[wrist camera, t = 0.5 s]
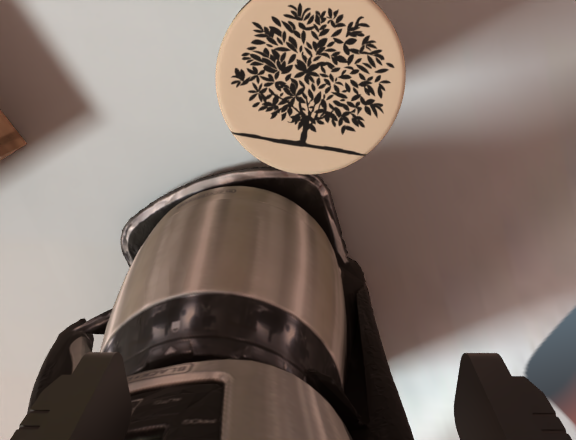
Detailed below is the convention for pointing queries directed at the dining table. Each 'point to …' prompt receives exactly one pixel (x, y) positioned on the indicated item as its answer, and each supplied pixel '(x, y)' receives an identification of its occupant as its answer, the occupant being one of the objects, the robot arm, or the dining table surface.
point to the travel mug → (310, 81)
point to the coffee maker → (242, 319)
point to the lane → (8, 137)
